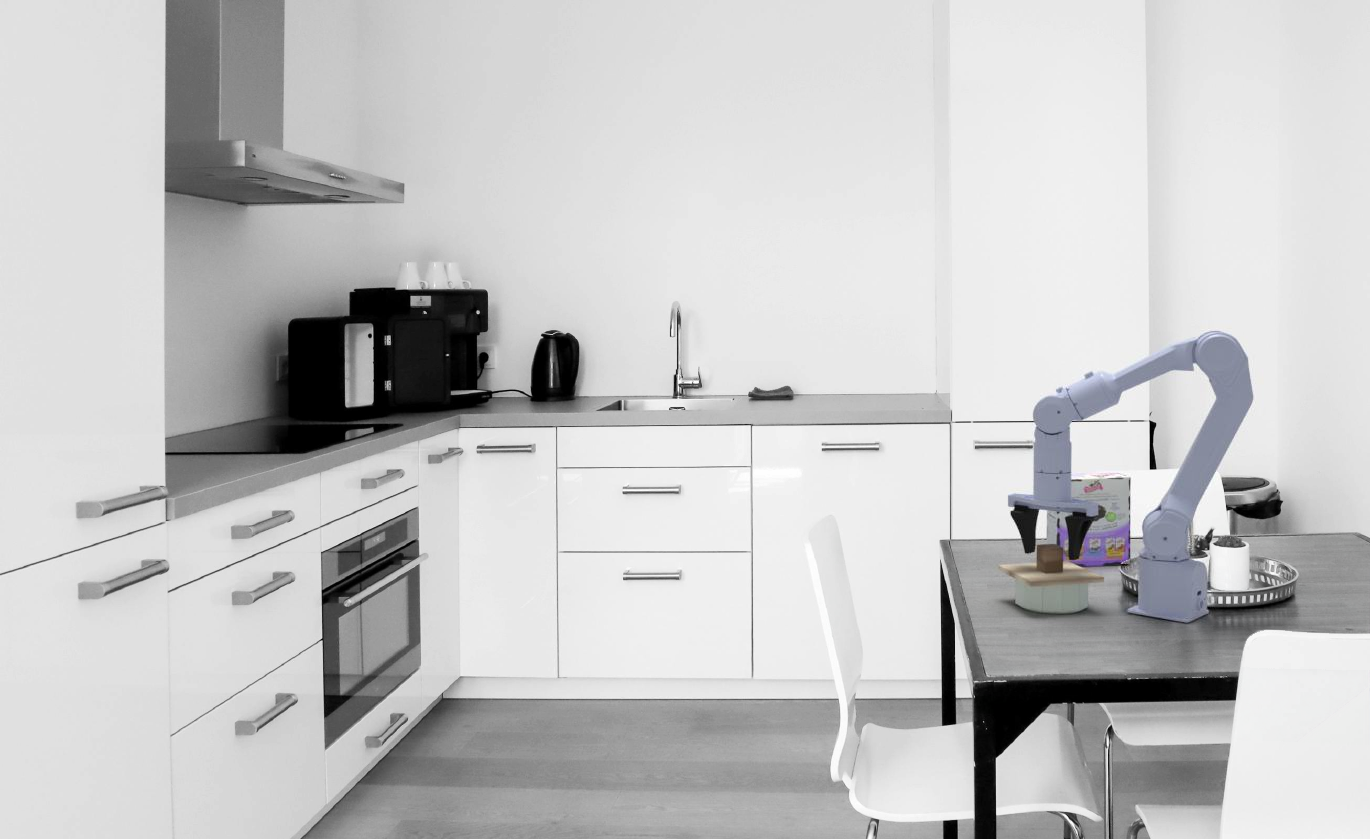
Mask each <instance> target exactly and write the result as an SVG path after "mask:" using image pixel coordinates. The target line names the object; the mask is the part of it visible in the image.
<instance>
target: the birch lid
mask: <svg viewBox="0 0 1370 839" xmlns="http://www.w3.org/2000/svg"><path fill="white" fill-rule="evenodd" d="M997 570H998V571H1000V572H1002V573H1004V574H1006V575H1008V576H1009V577H1012V578H1013V579H1015V580H1016V579H1017V580H1019V581H1021V582H1023V583H1025V584H1027V585H1029V586H1031V587H1034V586H1051V585H1068V584H1084V583H1088V584H1099V583H1100V584H1101V583H1104V582H1105V576H1102V575H1100V574H1097V573H1095V572H1093V571H1091V570H1089V569H1087V568H1084V567H1083V566H1077V565H1075V564H1073V563H1071V562H1068V561H1063V547H1061V546H1059V545H1056V544H1047V543H1045V544H1036V562H1025V563H1007V564H1005V563H1004V564H997Z"/></svg>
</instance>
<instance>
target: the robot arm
mask: <svg viewBox="0 0 1370 839" xmlns="http://www.w3.org/2000/svg"><path fill="white" fill-rule="evenodd" d="M1194 364H1196V365H1197V366H1198V367H1199V369H1200V370H1201V371H1202V373H1204V375H1206V377H1207V378H1208V381H1209V384H1210V386H1211V389H1212V391H1213V392H1214V395H1215V399H1214V400H1215V401H1214V403H1213V404H1212V406H1211V408H1210V410H1209V412H1208V414H1207V416H1206V418H1205V420H1204V422H1203V424H1202V426H1201V427H1200V428H1199V431H1198V433H1197V434H1196V437H1195V438H1194V441H1193V442H1192V444H1191V447H1190V449H1189V450H1188V452H1187V454H1186V456H1185V458H1184V460H1183V462H1182V464H1181V465H1180V467H1179V469H1178V471H1177V473H1176V475H1175V476H1174V479H1173V481H1172V482H1171V484H1170V486H1169V488H1168V489H1167V491H1166V493H1165V494H1164V495H1163V497H1162V499H1161V501H1160V502H1159V503H1158V505H1157V507H1155V508H1154V509H1153V510H1151V511H1150V512H1149V513H1147V514H1146V515H1145V517H1144V519H1143V521H1142V524H1141V531H1142V542H1143V545H1144V547H1143V548H1142V549H1140V550H1139V551H1138V554H1139V555H1138V586H1137V587H1138V588H1137V589H1138V593H1137V595H1138V597H1137V603H1138V604H1137V605H1134V606H1132V607H1130V608H1128V609H1126V611H1127V613H1130V614H1136V615H1142V616H1146V617H1152V618H1158V619H1164V620H1170V621H1175V622H1182V623H1190V622H1192V621H1195V620H1197V619H1198V618H1201V617H1203V616H1205V615H1207V614H1209V612H1210V611H1209V609H1208V568H1207V566H1206V564H1205V562H1203V561H1199V560H1195V559H1193V558H1191V557H1190V556H1191V555H1190V552H1189V551H1188V550H1186V548H1187V547H1188V546H1187V545H1188V542H1189V537H1188V536H1189V535H1188V532H1189V528H1190V525H1191V524H1192V522H1193V520H1194V517H1195V514H1196V511H1197V508H1198V506H1199V504H1200V503H1201V500H1202V498H1203V496H1204V494H1205V492H1206V490H1207V489H1208V488H1209V485H1210V483H1211V481H1212V480H1213V478H1214V475H1215V474H1216V472H1217V470H1218V468H1219V466H1220V465H1221V462H1222V460H1223V459H1224V457H1225V455H1226V453H1227V452H1228V449H1229V448H1230V445H1231V444H1232V442H1233V440H1234V438H1235V436H1236V434H1237V433H1238V431H1239V428H1240V427H1241V425H1242V423H1243V421H1244V419H1245V417H1246V416H1247V414H1248V412H1249V410H1250V408H1251V406H1252V404H1253V402H1254V393H1253V392H1254V391H1253V386H1252V379H1251V374H1250V373H1251V372H1250V367H1249V357H1248V356H1247V353H1246V352H1245V350H1244V349H1243V346H1242V345H1241V343H1240V342H1239V340H1238V339H1237V338H1236V337H1235V336H1233V335H1232V334H1229V333H1227V332H1224V331H1221V330H1210V331H1206V332H1204V333H1203V334H1200V336H1199V337H1196V336H1193V337H1190V338H1187V339H1184V340H1181V341H1179V342H1175V343H1172V344H1169V345H1167V346H1166V347H1164V348H1161V349H1160V350H1158V351H1156V352H1153V353H1152V354H1150V355H1148V356H1146V357H1144V358H1142V359H1140V360H1138V361H1137V362H1135V363H1132V364H1130V365H1128V366H1126V367H1124V368H1123V369H1121V370H1119V371H1117V372H1115V373H1109V372H1106V371H1103V370H1099V371H1097V372H1095V373H1094V372H1093V371H1092V370H1090V371H1088V372H1086V373H1085V374H1084V378H1082V379H1080V380H1079V381H1076V382H1074V383H1072V384H1070V385H1067V386H1066V387H1063V386H1059V387H1056V389H1055V392H1056V393H1057V394H1050V395H1049V394H1048V395H1046V396H1044V397H1042V398H1041V399H1039V401H1038V402H1037V403H1036V405H1035V406H1034V408H1033V412H1032V419H1033V422H1034V424H1035V425H1036V427H1035V428H1034V434H1033V435H1034V439H1035V440H1034V442H1033V483H1032V484H1033V485H1032V486H1033V487H1032V488H1033V490H1032V491H1033V493H1032V494H1026V493H1025V494H1024V493H1011V494H1008V495H1007V506H1008V507H1010V508H1013V509H1012V510H1010V517H1011V518H1012V520H1013V522H1014V524H1015V526H1016V527H1017V530H1018V532H1019V535H1020V539H1021V542H1022V546H1023V550H1024V554H1027V555H1029V554H1032V553H1035V551H1036V548H1037V539H1036V538H1037V534H1036V533H1037V531H1036V530H1037V525H1038V524H1037V523H1038V518H1039V514H1040V513H1039V512H1040V510H1043V511H1047V510H1049V511H1057V512H1066V513H1072V515H1070V516H1066V517H1065V521H1066V525H1067V531H1068V556H1069V560H1076V559H1079V556H1080V552H1081V548H1082V544H1083V541H1084V539H1085V536H1086V534H1087V532H1088V530H1089V528H1090V526H1091V524H1092V523H1093V521H1094V519H1095V516H1096V515H1098V503H1096V502H1089V501H1084V500H1079V499H1074V498H1071V475H1072V449H1073V448H1072V446H1073V445H1072V442H1071V434H1070V433H1071V427H1070V426H1071V423H1072V421H1077V422H1081V421H1084V420H1086V419H1088V418H1090V417H1092V416H1095V415H1097V414H1099V413H1101V412H1103V411H1105V410H1107V409H1109V408H1111V407H1114V406H1116V405H1118V404H1119V402H1120V400H1121V397H1122V393H1123V392H1125V391H1128V390H1130V389H1132V388H1135V387H1137V386H1139V385H1142V384H1144V383H1147V382H1148V381H1151V380H1153V379H1155V378H1157V377H1160V376H1162V375H1164V374H1167V373H1169V372H1172V371H1181V372H1183V371H1184V372H1187V371H1188V372H1194V371H1195V369H1194ZM1055 507H1061V508H1055Z"/></svg>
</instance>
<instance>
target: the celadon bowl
mask: <svg viewBox="0 0 1370 839" xmlns="http://www.w3.org/2000/svg"><path fill="white" fill-rule="evenodd" d="M1014 596H1015V599H1014V600H1015V604H1016V605H1018V606H1019V607H1020V608H1023V609H1024V610H1028V611H1030V612H1031V611H1032V612H1037V613H1042V614H1052V615H1053V614H1055V615H1059V614H1061V615H1063V614H1073V613H1078V612H1081V611H1083V610H1084V609H1086V608H1089V583H1084V584H1068V585H1051V586H1034V587H1031V586H1029V585H1027V584H1025V583H1023V582H1021V581H1019V580H1017V579H1015V595H1014Z"/></svg>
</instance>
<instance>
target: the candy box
mask: <svg viewBox="0 0 1370 839" xmlns="http://www.w3.org/2000/svg"><path fill="white" fill-rule="evenodd" d="M1131 479H1132V478H1131V476H1128V475H1125V474H1122V473H1118V472H1116V473H1115V472H1111V473H1110V472H1109V473H1083V474H1082V473H1081V474H1077V473H1076V474H1071V498H1074V499H1079V500H1084V501H1089V502H1096V503H1098V515H1096V516H1095V519H1094V521H1093V523H1092V524H1091V526H1090V528H1089V530H1088V532H1087V534H1086V536H1085V539H1084V541H1083V544H1082V548H1081V552H1080V556H1079V559H1076V560H1069V556H1068V531H1067V525H1066V521H1065V517H1066V516H1070V515H1072V513H1066V512H1057V511H1049V510H1046V544H1056V545H1059V546H1061V547H1063V561H1068V562H1071V563H1073V564H1075V565H1077V566H1080V567H1098V566H1099V567H1101V566H1120V565H1119V564H1121V563H1122V562H1124V561H1126V560H1129V559H1130V560H1131V484H1132V482H1131ZM1055 508H1061V507H1055Z"/></svg>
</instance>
